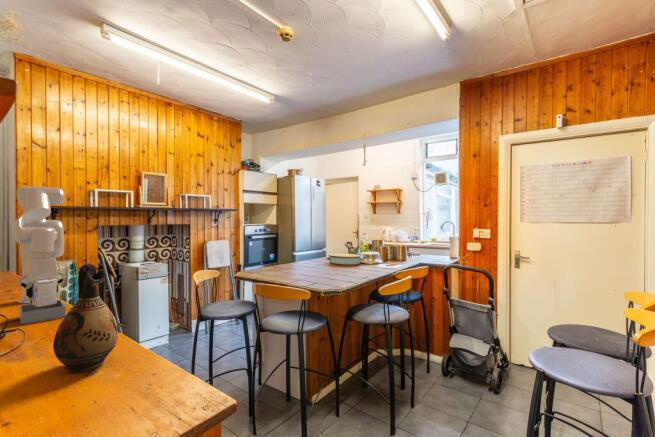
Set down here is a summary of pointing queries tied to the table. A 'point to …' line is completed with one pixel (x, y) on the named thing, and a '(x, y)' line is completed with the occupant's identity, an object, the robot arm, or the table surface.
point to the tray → (41, 312)
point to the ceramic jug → (86, 326)
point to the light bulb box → (43, 292)
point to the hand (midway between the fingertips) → (42, 295)
